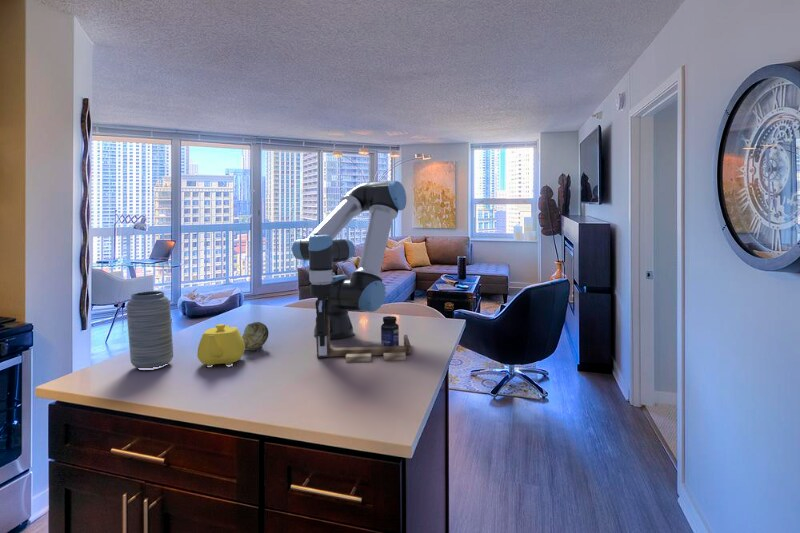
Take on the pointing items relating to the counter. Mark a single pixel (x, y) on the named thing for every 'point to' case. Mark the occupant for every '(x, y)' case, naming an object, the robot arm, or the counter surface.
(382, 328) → the pill bottle
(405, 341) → the wooden stand
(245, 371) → the counter surface
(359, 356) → the broken strip
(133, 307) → the vase
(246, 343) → the seashell
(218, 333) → the yellow faceted lidded jar
